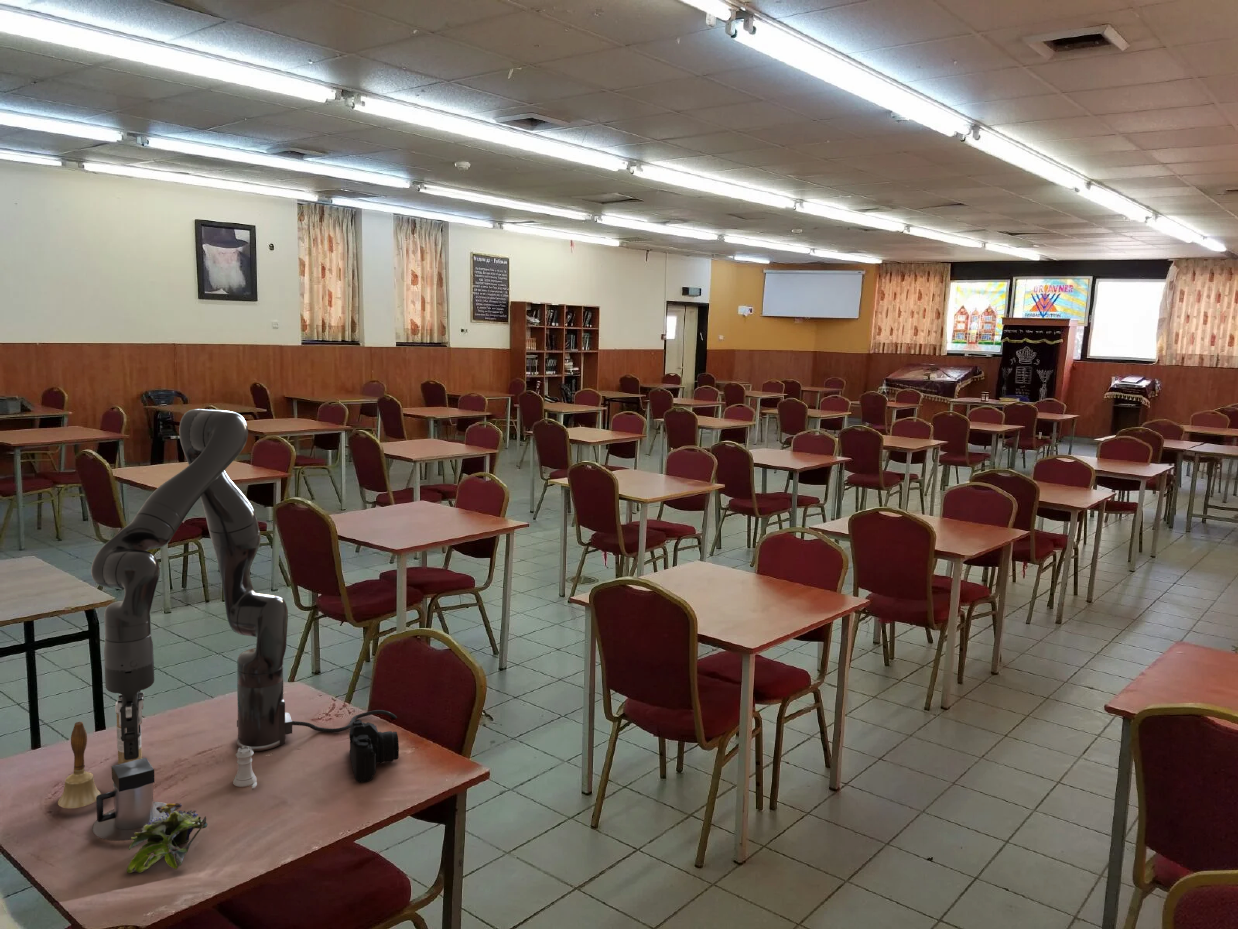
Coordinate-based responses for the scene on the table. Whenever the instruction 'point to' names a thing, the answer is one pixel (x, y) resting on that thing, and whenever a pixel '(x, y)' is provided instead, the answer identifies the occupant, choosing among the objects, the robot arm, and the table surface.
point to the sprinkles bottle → (121, 744)
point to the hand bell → (79, 774)
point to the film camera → (370, 749)
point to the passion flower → (165, 838)
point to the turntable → (115, 834)
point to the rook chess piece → (245, 769)
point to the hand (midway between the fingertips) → (132, 747)
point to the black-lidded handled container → (130, 795)
